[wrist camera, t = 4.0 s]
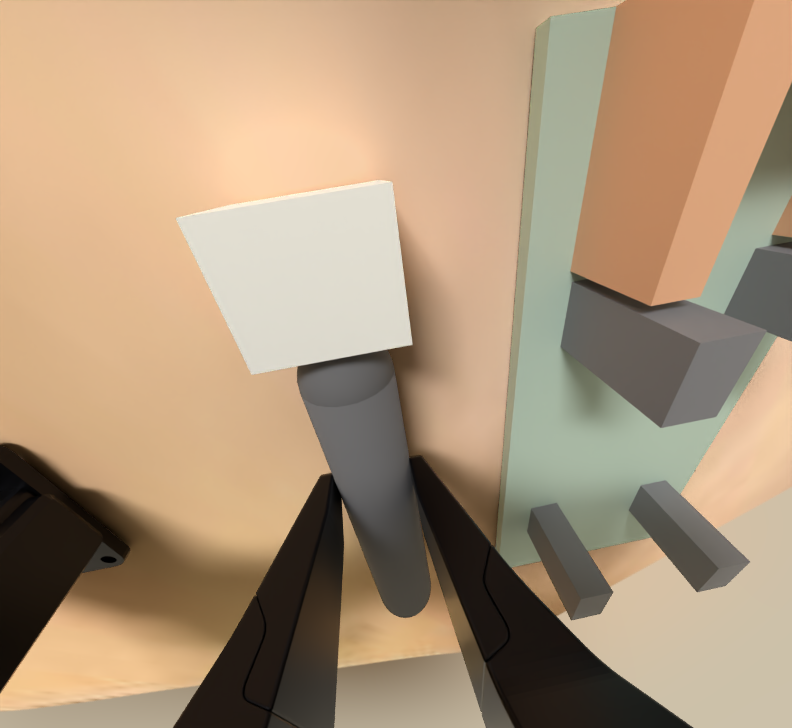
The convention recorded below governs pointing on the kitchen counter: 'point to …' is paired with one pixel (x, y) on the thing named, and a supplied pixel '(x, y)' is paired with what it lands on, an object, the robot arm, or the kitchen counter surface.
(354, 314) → the rod
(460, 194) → the kitchen counter surface
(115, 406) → the kitchen counter surface
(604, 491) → the clip board
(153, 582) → the kitchen counter surface
